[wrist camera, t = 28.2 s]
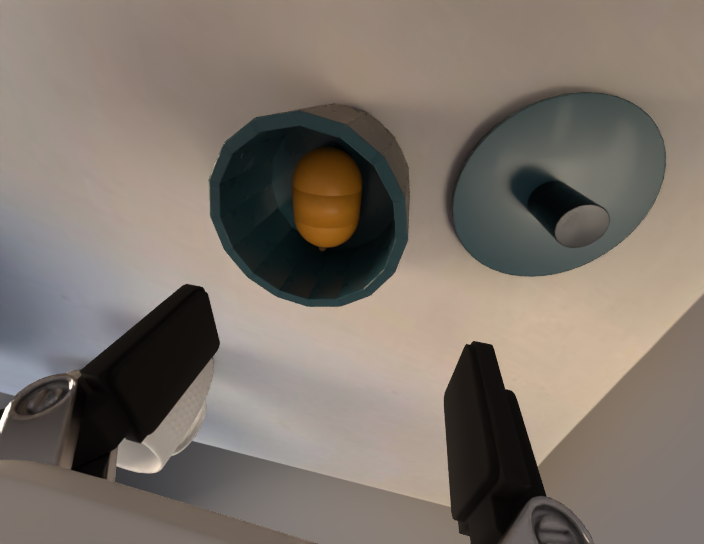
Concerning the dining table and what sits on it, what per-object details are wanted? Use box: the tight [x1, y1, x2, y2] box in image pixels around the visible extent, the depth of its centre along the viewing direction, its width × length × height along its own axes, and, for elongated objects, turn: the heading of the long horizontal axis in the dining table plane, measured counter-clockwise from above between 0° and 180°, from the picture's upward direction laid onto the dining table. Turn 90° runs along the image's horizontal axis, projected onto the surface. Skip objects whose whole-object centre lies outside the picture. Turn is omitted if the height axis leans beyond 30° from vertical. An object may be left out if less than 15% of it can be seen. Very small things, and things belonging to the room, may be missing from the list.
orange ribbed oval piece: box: [292, 147, 362, 251], centre depth 22 cm, size 8×5×5 cm
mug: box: [116, 358, 214, 473], centre depth 37 cm, size 15×11×13 cm
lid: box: [452, 92, 666, 277], centre depth 20 cm, size 13×13×6 cm
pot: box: [209, 103, 410, 307], centre depth 21 cm, size 12×12×8 cm
